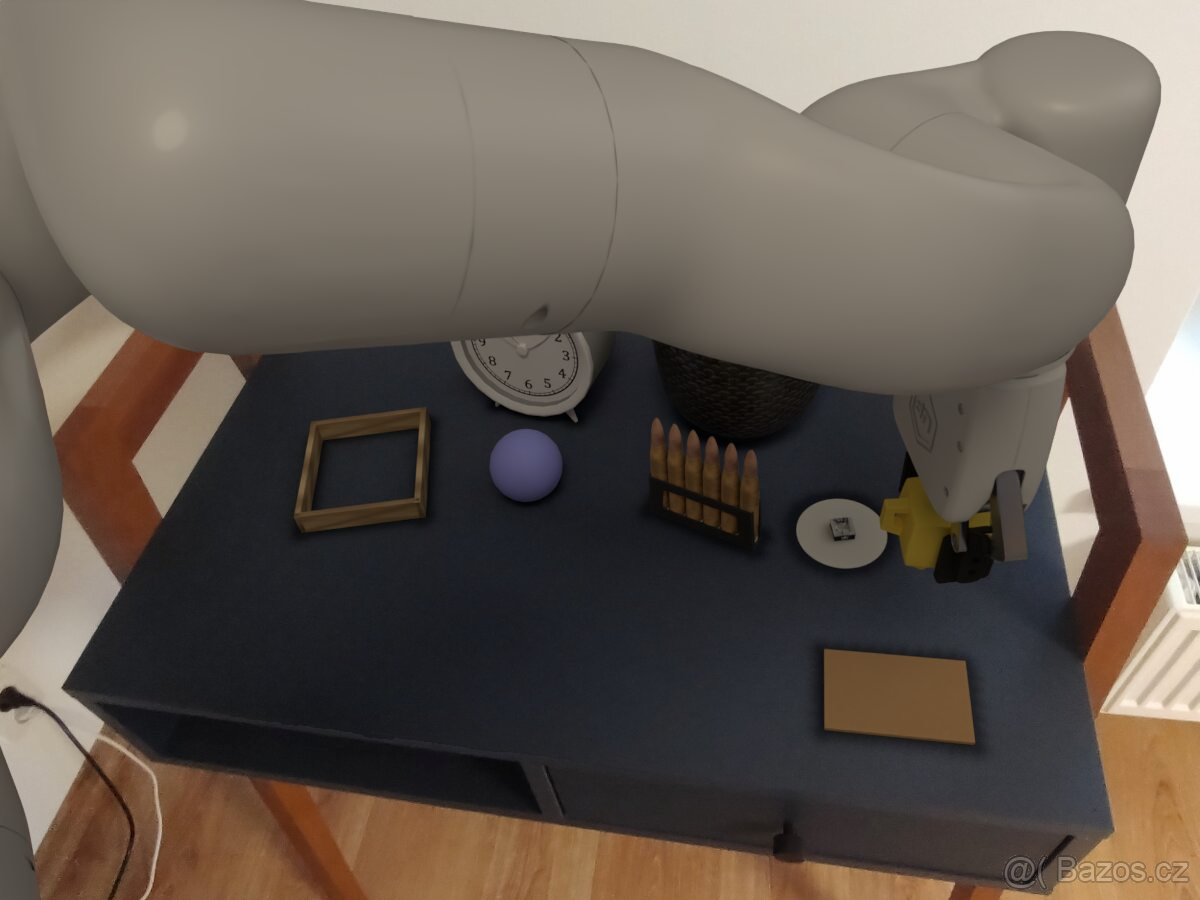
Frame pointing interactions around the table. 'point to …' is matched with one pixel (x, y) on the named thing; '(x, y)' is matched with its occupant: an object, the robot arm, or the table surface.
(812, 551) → the white round disc
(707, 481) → the ammunition clip
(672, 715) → the table surface
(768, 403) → the planter
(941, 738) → the cork mat
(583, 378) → the alarm clock
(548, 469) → the sphere
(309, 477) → the wooden frame
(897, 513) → the teapot
